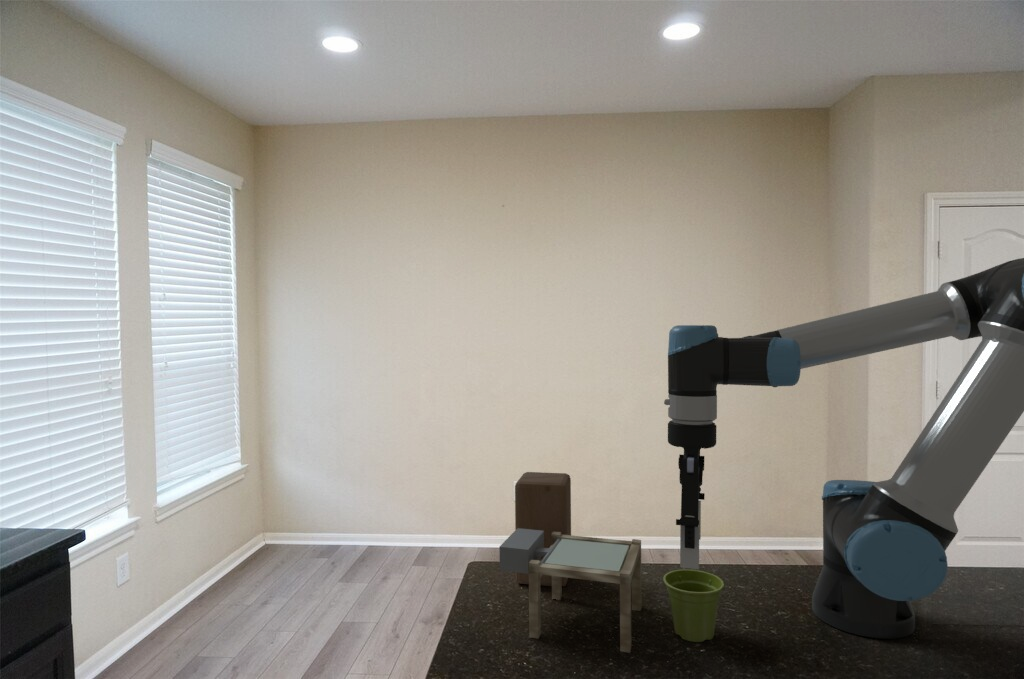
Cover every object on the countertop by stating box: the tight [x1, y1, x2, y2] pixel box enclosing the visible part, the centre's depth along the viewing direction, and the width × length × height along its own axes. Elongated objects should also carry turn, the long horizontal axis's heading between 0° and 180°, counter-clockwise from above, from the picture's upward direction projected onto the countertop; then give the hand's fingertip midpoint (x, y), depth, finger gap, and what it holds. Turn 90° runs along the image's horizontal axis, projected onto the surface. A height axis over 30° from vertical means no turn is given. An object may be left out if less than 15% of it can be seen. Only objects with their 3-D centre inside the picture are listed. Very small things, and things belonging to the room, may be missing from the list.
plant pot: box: [662, 568, 725, 643], centre depth 98 cm, size 9×9×9 cm
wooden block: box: [514, 471, 572, 587], centre depth 121 cm, size 10×10×20 cm
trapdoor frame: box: [528, 532, 643, 654], centre depth 103 cm, size 16×16×12 cm
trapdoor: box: [499, 528, 629, 574], centre depth 104 cm, size 20×12×4 cm, turn 72°
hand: (691, 552), depth 98 cm, fingers open, 13 cm apart
